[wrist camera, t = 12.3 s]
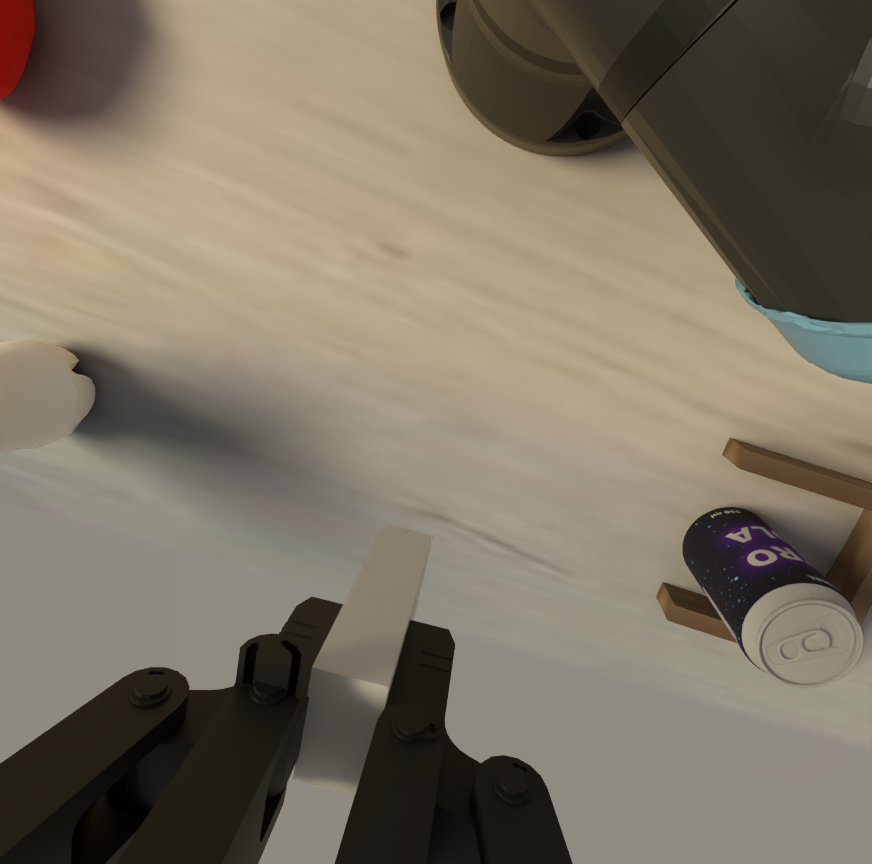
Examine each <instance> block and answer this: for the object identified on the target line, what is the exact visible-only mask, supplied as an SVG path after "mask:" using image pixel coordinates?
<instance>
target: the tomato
mask: <svg viewBox="0 0 872 864" xmlns="http://www.w3.org/2000/svg"><path fill="white" fill-rule="evenodd" d="M35 29H36V26H35V17H34V7H33V0H0V99H2V98H4V97H5V96H7V95H8V94H10V93H11V92H12V91H13V89H14V87H15V86H16V84H17V82H18V81H19V79H20V77H21V75H22V74H23V71H24V68H25V65H26V61H27V58H28V55H29V52H30V48H31V44H32V41H33V37H34V33H35Z"/></svg>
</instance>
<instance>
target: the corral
mask: <svg viewBox="0 0 872 864" xmlns="http://www.w3.org/2000/svg"><path fill="white" fill-rule="evenodd" d="M722 455H723V456H725V457H726V458H727V459H728V460H730V461H731V462H732V463H733V464H735V465H736V466H737V467H738V468H740V469H742V470H745V471H748V472H752V473H755V474H758V475H761V476H764V477H767V478H770V479H774V480H777V481H780V482H783V483H786V484H789V485H792V486H796V487H799V488H802V489H805V490H808V491H811V492H814V493H817V494H821V495H824V496H827V497H830V498H833V499H836V500H839V501H843V502H846V503H849V504H852V505H855V506H858V507H861V508H865V510H864V511H863V513H862V515H861V517H860V519H859V520H858V522H857V524H856V526H855V528H854V529H853V531H852V533H851V535H850V537H849V538H848V540H847V542H846V544H845V546H844V547H843V549H842V551H841V553H840V555H839V556H838V558H837V560H836V562H835V564H834V565H833V567H832V569H831V571H830V573H829V574H828V576H827V578H826V579H827V580H828V581H829V582H830V583H831V584H832V585H833V586H834V587H836V588H837V589H838V590H839V591H840V592H841V593H842V594H843V595H844V596H845V597H846V598H847V599H848V600H849V602H850V603H851V605H852V606H853V608H854V610H855V613H856V617H857V620H858V622H859V624H861V622H862V620H863V619H864V617H865V615H866V613H867V612H868V610H869V608H870V607H871V605H872V483H870V482H867V481H864V480H861V479H857V478H854V477H851V476H848V475H845V474H842V473H839V472H835V471H832V470H829V469H826V468H823V467H820V466H816V465H813V464H810V463H807V462H804V461H801V460H798V459H794V458H791V457H788V456H785V455H782V454H779V453H775V452H772V451H769V450H766V449H763V448H760V447H757V446H753V445H750V444H747V443H744V442H741V441H738V440H734V439H731V438H730V439H729V441H728V443H727V445H726V448H725V450H724V452H723V454H722ZM656 597H657V600H658V602H659V604H660V606H661V608H662V610H663V612H664V614H665V616H666V618H667V620H668V621H671V622H674V623H677V624H680V625H683V626H686V627H689V628H692V629H695V630H699V631H702V632H705V633H708V634H711V635H714V636H717V637H720V638H723V639H726V640H729V641H732V642H735V643H737V641H736V640H735V638H734V637H733V635H732V634H731V632H730V631H729V629H728V628H727V626H726V625H725V623H724V622H723V620H722V618H721V617H720V615H719V614H718V612H717V611H716V609H715V608H714V606H713V605H712V603H711V602H710V600H709V598H708V597H706V596H703V595H700V594H696V593H693V592H690V591H687V590H684V589H681V588H678V587H675V586H672V585H669V584H666V583H662V585H661V587H660V590H659V592H658V594H657V596H656Z"/></svg>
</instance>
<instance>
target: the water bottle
mask: <svg viewBox="0 0 872 864" xmlns="http://www.w3.org/2000/svg"><path fill="white" fill-rule="evenodd" d="M78 361H79V360H78V359H77V357H76V356H75V355H74V354H73V353H71V352H69V351H67V350H66V349H64V348H62V347H59V346H56V345H53V344H50V343H46V342H41V341H33V340H18V341H10V342H2V343H0V453H2V452H7V451H11V450H19V449H32V448H37V447H41V446H44V445H46V444H49V443H52V442H55V441H57V440H59V439H61V438H64V437H65V436H67V435H69V434H71V433H72V432H73V431H74V430H75V429H76V427H77V426H78V425H79V424H80V421H81V420H82V419H83V418H84V417H85V416H86V415H87V414H88V412H89V411H90V409H91V408H92V406H93V404H94V401H95V386H94V384H93V382H92V379H90V378H89V377H87V376H84V375H80V374H75V373H74V372H73V371H72V369H73V368H74V367H75V366H76V364H77V362H78Z"/></svg>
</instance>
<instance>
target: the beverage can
mask: <svg viewBox="0 0 872 864" xmlns="http://www.w3.org/2000/svg"><path fill="white" fill-rule="evenodd" d="M683 557H684V560H685V563H686V564H687V566H688V568H689V569H690V571H691V572H692V574H693V575H694V577H695V579H696V580H697V582H698V583H699V585H700V586H701V588H702V589H703V591H704V592H705V594H706V595H707V597H708V598H709V600H710V602H711V603H712V605H713V606H714V608H715V609H716V611H717V612H718V614H719V615H720V617H721V618H722V620H723V622H724V623H725V625H726V626H727V628H728V629H729V631H730V632H731V634H732V635H733V637H734V638H735V640H736V641H737V643H738V645H739V646H740V648H741V649H742V651H743V652H744V654H745V655H746V657H747V658H748V659H749V660H750V661H751V662H752V663H753V664H754V665H755V666H756V667H758V668H759V669H761V670H763V671H764V672H766V673H768V674H769V675H770V676H772V677H773V678H774V679H776V680H778V681H779V682H782V683H784V684H786V685H790V686H793V687H799V688H814V687H820V686H825V685H828V684H830V683H833V682H835V681H837V680H839V679H841V678H842V677H843V676H845V675H846V674H847V673H849V672H850V671H851V670H852V669H853V667H854V666H855V665H856V664H857V662H858V660H859V659H860V657H861V654H862V651H863V646H864V636H863V632H862V628H861V626H860V624H859V622H858V620H857V617H856V613H855V610H854V608H853V606H852V605H851V603H850V602H849V600H848V599H847V598H846V597H845V596H844V595H843V594H842V593H841V592H840V591H839V590H838V589H837V588H836V587H834V586H833V585H832V584H831V583H830V582H829V581H828V580H827V579H826V578H825V577H824V576H822V575H821V574H820V573H819V572H818V571H817V570H816V569H815V568H814V567H813V566H812V565H810V564H809V563H808V562H807V561H806V560H805V559H804V558H803V557H802V556H801V555H800V554H798V553H797V552H796V551H795V550H794V549H793V548H792V547H791V546H790V545H789V544H787V543H786V542H785V541H784V540H783V539H782V538H781V537H780V536H779V535H778V534H777V533H775V532H774V531H773V530H772V529H771V528H770V527H769V526H768V525H767V524H766V523H765V522H763V521H762V520H761V519H760V518H759V517H758V516H756V515H755V514H753V513H752V512H749V511H747V510H744V509H740V508H733V507H727V508H720V509H715V510H712V511H710V512H708V513H706V514H704V515H702V516H701V517H699V518H698V519H697V520H696V521H695V522H694V523H693V524H692V525H691V526H690V528H689V529H688V531H687V533H686V535H685V537H684V541H683Z"/></svg>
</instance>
